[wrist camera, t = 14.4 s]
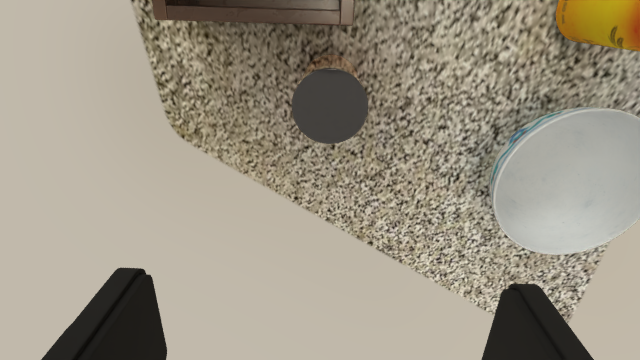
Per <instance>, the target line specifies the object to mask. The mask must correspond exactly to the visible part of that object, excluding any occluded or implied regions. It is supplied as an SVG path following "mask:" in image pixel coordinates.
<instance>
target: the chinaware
mask: <svg viewBox="0 0 640 360" xmlns="http://www.w3.org/2000/svg"><path fill="white" fill-rule="evenodd" d="M489 191H490V200H491V205H492V209H493V212H494V215H495V218H496V220H497V222H498V224H499V226H500V228H501V229H502V231H503V232H504V233H505V234H506V235H507V237H509V238H510V239H511V240H512V241H513V242H515V243H516V244H517V245H519V246H521V247H523V248H525V249H527V250H530V251H533V252H537V253H541V254H549V255H566V254H574V253H579V252H583V251H587V250H590V249H593V248H596V247H598V246H601V245H603V244H605V243H607V242H609V241H611V240H613V239H614V238H616V237H618V236H619V235H621V234H622V233H624V232H625V231H626V230H628V229H629V228H630V227H632V226H633V225H634V224H635V223H636V222H637V221H638V220H639V219H640V118H639V117H638V116H636V115H634V114H631V113H628V112H626V111H622V110H618V109H612V108H603V107H579V108H570V109H564V110H560V111H556V112H552V113H549V114H546V115H544V116H541V117H539V118H537V119H535V120H533V121H531V122H530V123H528V124H526V125H525V126H523V127H522V128H521V129H519V130H518V131H517V132H516V133H515V134H513V135H512V136H511V137H510V138H509V140H508V141H507V142H506V143H505V144H504V146H503V147H502V149H501V150H500V152H499V153H498V155H497V157H496V159H495V162H494V164H493V167H492V171H491V175H490V184H489Z"/></svg>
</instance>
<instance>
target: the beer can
mask: <svg viewBox="0 0 640 360" xmlns="http://www.w3.org/2000/svg"><path fill="white" fill-rule="evenodd" d="M556 22H557V26H558V28H559V30H560V32H561V33H562V34H563V36H565V37H566V38H567V39H569V40H572V41H575V42H581V43H588V44H594V45H601V46H607V47H614V48H620V49H627V50H633V51H640V0H559V2H558V5H557V10H556Z"/></svg>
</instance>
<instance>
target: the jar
mask: <svg viewBox="0 0 640 360" xmlns="http://www.w3.org/2000/svg"><path fill="white" fill-rule="evenodd" d="M367 113H368V98H367V94H366V92H365V89H364V87H363V85H362V83H361V81H360V80H359V78H358V75H357V72H356V70H355V68H354V67H353V65H352V64H351V63H350V62H349V61H348V60H347V59H345V58H343V57H341V56H338V55H333V54H329V55H323V56H320V57H318V58H316V59H315V60H313V61H312V62H311V63H310V64H309V65H308V67H307V68H306V70H305V72H304V75H303V77H302V79H301V80H300V82H299V83H298V85H297V87H296V89H295V92H294V94H293V98H292V114H293V117H294V120H295V122H296V124H297V126H298V127H299V129H300V130H301V131H302V132H303V133H304V134H305V135H306V136H307V137H309V138H310V139H312V140H314V141H317V142H320V143H326V144H334V143H339V142H343V141H345V140H347V139H349V138H351V137H352V136H354V135H355V134H356V133H357V132H358V131H359V130H360V128H361V127H362V126H363V124H364V122H365V120H366V117H367Z"/></svg>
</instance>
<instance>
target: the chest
mask: <svg viewBox="0 0 640 360" xmlns="http://www.w3.org/2000/svg"><path fill="white" fill-rule="evenodd" d="M152 3H153V9H154V16H155V19H156V20H183V21H217V22H250V23H284V24H317V25H350V26H352V25H353V20H354V3H355V0H152Z"/></svg>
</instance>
